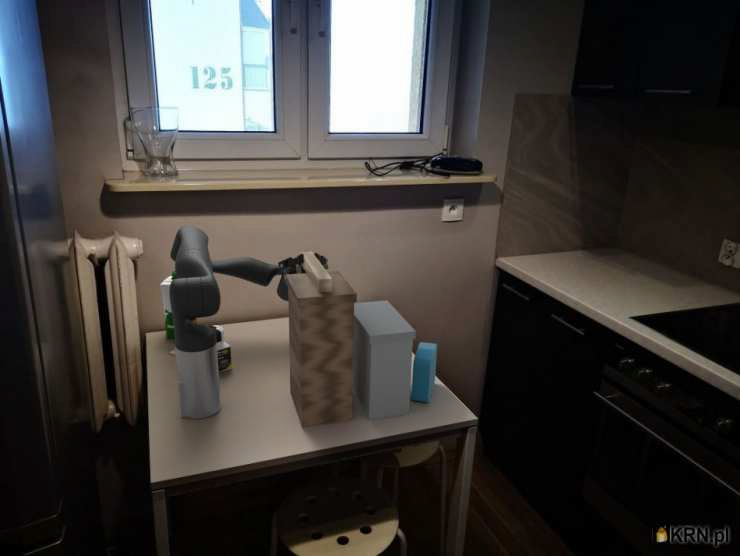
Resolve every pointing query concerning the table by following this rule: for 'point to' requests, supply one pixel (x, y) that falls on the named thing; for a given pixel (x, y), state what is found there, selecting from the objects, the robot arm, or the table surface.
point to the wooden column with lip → (321, 349)
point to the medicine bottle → (222, 349)
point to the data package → (424, 372)
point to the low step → (382, 359)
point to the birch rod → (317, 273)
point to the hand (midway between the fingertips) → (309, 257)
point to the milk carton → (168, 306)
